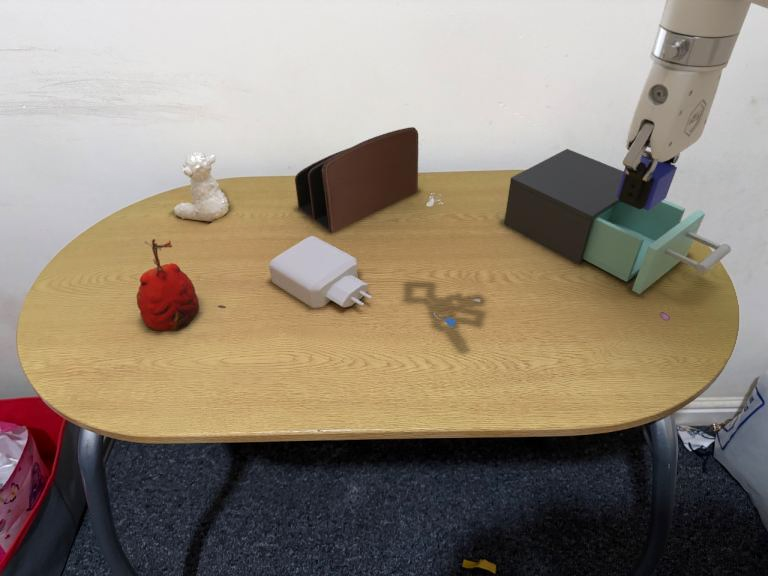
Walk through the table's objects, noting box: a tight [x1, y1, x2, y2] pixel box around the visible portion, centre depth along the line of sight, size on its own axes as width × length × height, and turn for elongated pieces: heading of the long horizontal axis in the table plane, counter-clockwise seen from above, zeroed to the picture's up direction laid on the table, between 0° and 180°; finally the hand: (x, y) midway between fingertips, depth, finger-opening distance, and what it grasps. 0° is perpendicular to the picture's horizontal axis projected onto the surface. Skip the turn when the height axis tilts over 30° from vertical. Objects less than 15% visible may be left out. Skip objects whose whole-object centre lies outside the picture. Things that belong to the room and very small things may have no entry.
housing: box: [503, 148, 624, 266], centre depth 86 cm, size 15×15×10 cm
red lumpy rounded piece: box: [136, 238, 200, 332], centre depth 70 cm, size 8×7×15 cm
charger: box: [268, 235, 373, 309], centre depth 77 cm, size 5×9×15 cm
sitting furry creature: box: [173, 151, 230, 223], centre depth 91 cm, size 10×9×12 cm
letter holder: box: [294, 126, 419, 234], centre depth 92 cm, size 10×20×14 cm, turn 130°
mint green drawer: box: [582, 199, 732, 295], centre depth 78 cm, size 19×13×8 cm
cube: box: [616, 157, 678, 211], centre depth 67 cm, size 4×4×4 cm
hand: (642, 195), depth 68 cm, fingers closed on cube, 4 cm apart
